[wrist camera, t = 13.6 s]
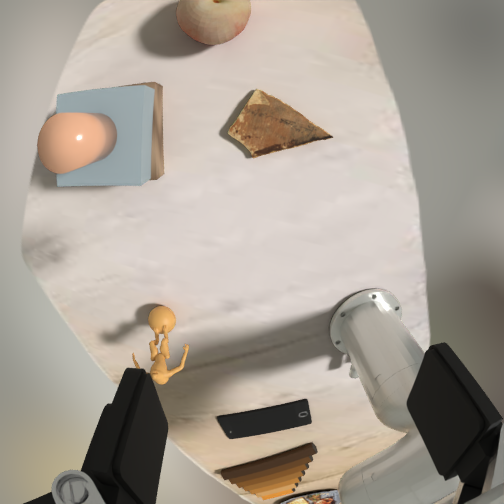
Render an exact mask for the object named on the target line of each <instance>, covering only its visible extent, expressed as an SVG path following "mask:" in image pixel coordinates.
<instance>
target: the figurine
mask: <svg viewBox="0 0 504 504" xmlns="http://www.w3.org/2000/svg"><path fill="white" fill-rule="evenodd" d="M148 322H149V325H150V327H151V329H152V330H153V331H154V332H155V338H156V340H154V341H151V342H150V343H149V345H150V351H151V361H155V362H154V364H153V365H152V367H151V371H150V374H151V377H152V380H154V381H155V382H156V383H158V384H165V383H166V382H167V381H168V379H169V377H171V376H172V375H173V374H175V373H177V372H178V371H180V370H182V369H183V367H184V363H185V360H186V356H187V353H188V349H189V345H187V347H186V344H185V348H184V347H183V348H184V350H185V352H184V354H183V357H182V361H181V363H180V366H178V367H176V368H174V369H171V370H167V366H166V363H165V358H166V359H168V358H169V357H170V354H169V349H168V344H167V343H168V332H170V331H171V330H172V329H173V328H174V326H175V323H176V318H175V315H174V313H173V311H172V310H171V309H169V308H168V307H165V306H158V307H156V308H154V309H153V310H152V311H151V312H150V314H149V317H148ZM159 334H164V337H165V338H164V339H163V340H162V341H161V346H160V351H161V353H159V354H158V349H157V347H156V345H158V342H159ZM132 355H133V361H134V364H135V366H136V368H139V369H140V367H139V365H138V363H137V362H136V360H135V355H134V353H133V354H132Z"/></svg>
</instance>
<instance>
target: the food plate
mask: <svg viewBox="0 0 504 504" xmlns="http://www.w3.org/2000/svg"><path fill="white" fill-rule="evenodd" d="M320 493H329V495H326V494H324V495H323V494H322V495H320ZM332 493H333V494H332ZM330 494H331V495H330ZM308 495H309V497H308V499H306V498H304V496H308ZM308 495H303V496H301V497H296V498H292V499H289V500H288V501H285V502H283V503H281V504H339V503H340V502H341V501H340V498H339V492H338V491H337V490H334V491H327V492H319V493H312V494H308ZM313 502H314V503H313Z"/></svg>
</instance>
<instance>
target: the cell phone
mask: <svg viewBox="0 0 504 504" xmlns="http://www.w3.org/2000/svg"><path fill="white" fill-rule="evenodd" d="M217 419H218V421H219V423H220V425H221V427H222V428H223V430H224V432H225V433H226V435H227V436H228V438H229V439H236V438H242V437H249V436H255V435H260V434H266V433H271V432H276V431H281V430H286V429H290V428H295V427H299V426H304V425H308V424H311V423H312V420H311V415H310V410H309V404H308V400H307V399H302V400H298V401H294V402H290V403H285V404H281V405H276V406H271V407H266V408H261V409H256V410H251V411H245V412H239V413H233V414H227V415H220V416H218V417H217Z"/></svg>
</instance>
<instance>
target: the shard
mask: <svg viewBox="0 0 504 504" xmlns="http://www.w3.org/2000/svg"><path fill="white" fill-rule="evenodd" d="M228 134H229V135H230V136H232V137H233V138H235V139H236V140H238V141H239V142H241V143H242V144H243V145H245V147H246V148H247V149H248V150H249V151H250V152H251V155H252V158H256V157H258V156H261V155H266V154H270V153H273V152H277V151H281V150H284V149H290V148H294V147H298V146H301V145H306V144H308V143H311V142H313V141H317V140H326V139H330V138H333V136H331V135H330V134H329V133H327V132H326V131H324V130H323V129H322V128H320V127H318V126H316V125H315V124H313V123H312V122H311V121H309V120H308V119H306V118H305V117H304V116H303V115H302V114H300V113H299V112H297V111H296V110H294V109H293V108H292V107H290V106H289V105H287V104H285V103H283V102H282V101H281V100H279V99H277V98H275V97H274V96H271V95H268V94H266V93H265V92H263V91H262V90H258V89H256V90H255V92H254V93H253V95H252V96H251V98H250V99H249V100H248V102H247V103H246V105H245V106H244V108H243V110H242V111H241V113H240V115H239V116H238V117H237V119H236V120H235V121H234V123H233V124H232V125H231V126H230V128H229V130H228Z"/></svg>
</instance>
